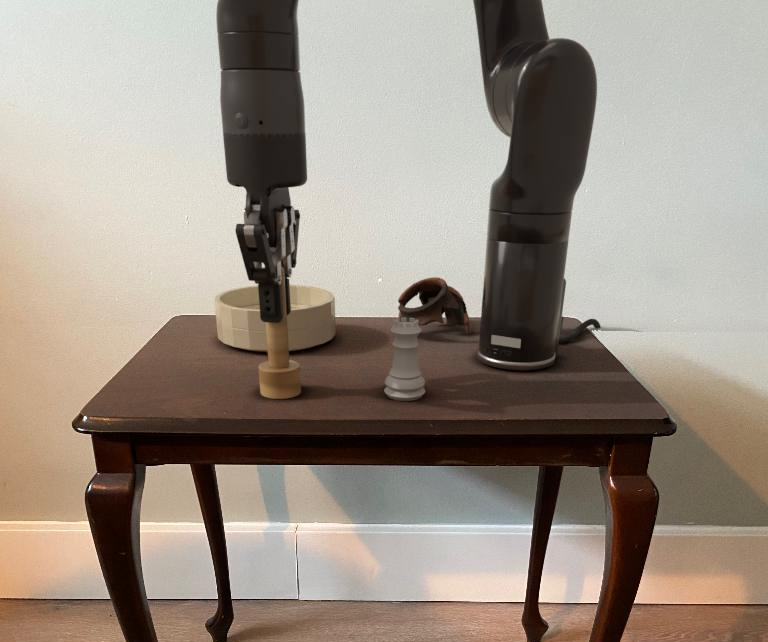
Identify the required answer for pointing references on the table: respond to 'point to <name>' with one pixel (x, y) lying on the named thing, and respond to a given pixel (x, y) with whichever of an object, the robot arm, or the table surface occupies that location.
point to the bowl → (248, 331)
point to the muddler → (279, 360)
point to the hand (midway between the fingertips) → (276, 317)
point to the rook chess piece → (405, 363)
